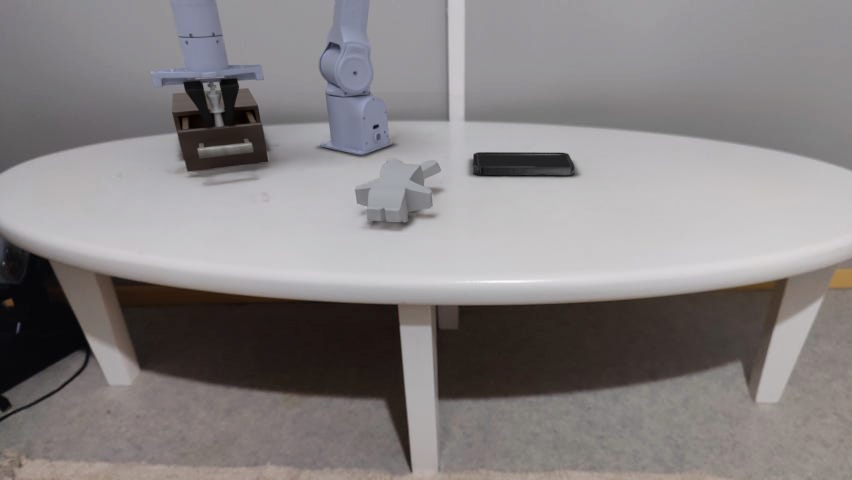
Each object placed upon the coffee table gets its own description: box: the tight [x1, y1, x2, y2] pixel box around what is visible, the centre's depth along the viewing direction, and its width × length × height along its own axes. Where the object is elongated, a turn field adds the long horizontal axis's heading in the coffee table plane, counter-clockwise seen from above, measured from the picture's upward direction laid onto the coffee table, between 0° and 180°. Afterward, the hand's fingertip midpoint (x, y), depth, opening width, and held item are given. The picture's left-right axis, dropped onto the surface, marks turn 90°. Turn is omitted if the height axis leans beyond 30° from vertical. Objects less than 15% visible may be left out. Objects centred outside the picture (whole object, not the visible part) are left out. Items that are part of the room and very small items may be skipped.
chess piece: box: [206, 82, 225, 127], centre depth 83 cm, size 5×5×10 cm
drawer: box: [177, 110, 270, 173], centre depth 85 cm, size 19×11×6 cm, turn 25°
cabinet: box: [171, 87, 262, 159], centre depth 95 cm, size 15×12×7 cm
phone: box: [472, 151, 575, 176], centre depth 86 cm, size 8×1×15 cm
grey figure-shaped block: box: [354, 157, 442, 223], centre depth 71 cm, size 10×5×15 cm
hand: (221, 132), depth 85 cm, fingers closed on chess piece
